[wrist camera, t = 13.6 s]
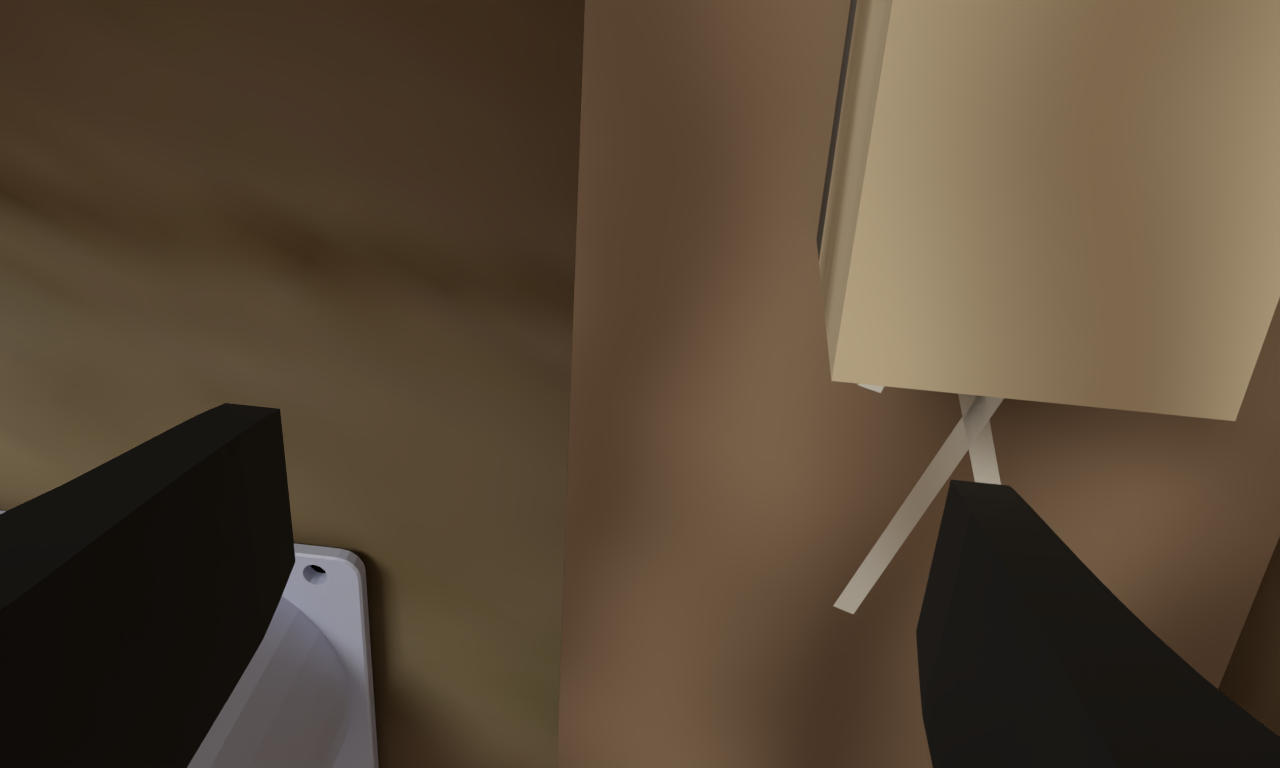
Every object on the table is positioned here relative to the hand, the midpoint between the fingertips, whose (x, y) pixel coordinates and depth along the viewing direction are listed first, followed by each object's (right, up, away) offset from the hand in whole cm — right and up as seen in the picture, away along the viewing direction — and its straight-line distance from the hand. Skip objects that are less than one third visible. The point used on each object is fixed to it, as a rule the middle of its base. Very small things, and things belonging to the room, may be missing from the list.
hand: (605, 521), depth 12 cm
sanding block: (+6, +8, +4) cm, 11 cm away
